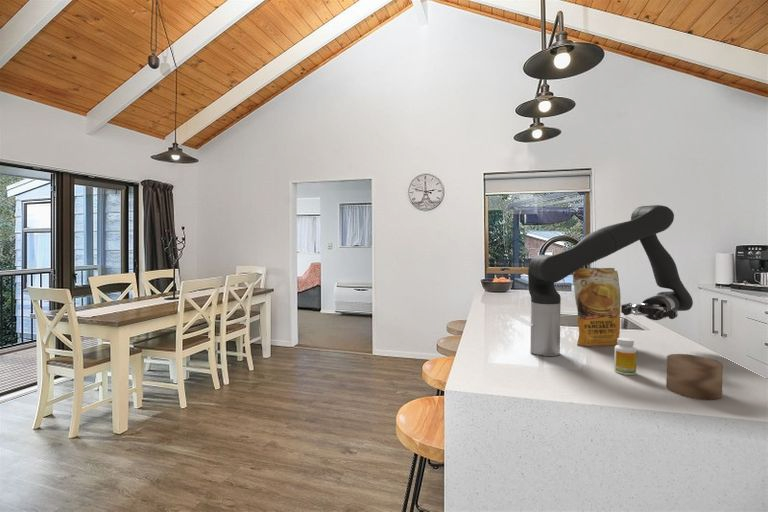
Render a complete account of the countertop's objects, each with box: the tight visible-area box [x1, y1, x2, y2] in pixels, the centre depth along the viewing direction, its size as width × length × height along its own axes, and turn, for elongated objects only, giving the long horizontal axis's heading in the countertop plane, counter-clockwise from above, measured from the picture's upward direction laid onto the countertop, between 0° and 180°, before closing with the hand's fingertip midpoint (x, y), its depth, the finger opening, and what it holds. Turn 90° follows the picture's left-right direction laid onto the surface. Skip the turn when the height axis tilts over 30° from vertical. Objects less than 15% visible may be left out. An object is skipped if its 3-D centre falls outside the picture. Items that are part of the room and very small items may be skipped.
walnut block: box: [665, 353, 724, 401], centre depth 98 cm, size 11×11×8 cm
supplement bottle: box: [613, 337, 637, 376], centre depth 112 cm, size 5×5×10 cm
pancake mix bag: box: [572, 267, 622, 347], centre depth 141 cm, size 7×19×28 cm, turn 94°
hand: (640, 313), depth 118 cm, fingers open, 8 cm apart
